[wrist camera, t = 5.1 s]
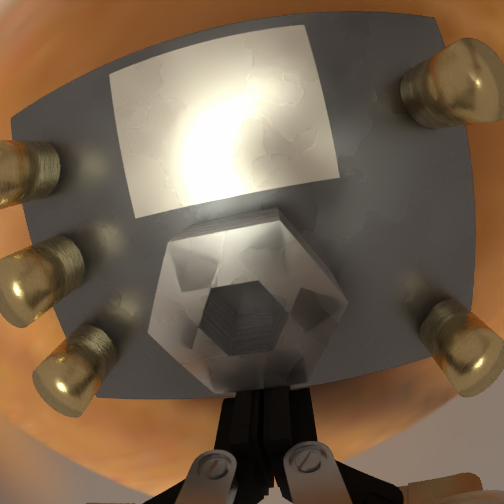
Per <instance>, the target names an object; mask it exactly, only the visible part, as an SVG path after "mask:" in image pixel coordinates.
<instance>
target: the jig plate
mask: <svg viewBox="0 0 504 504" xmlns="http://www.w3.org/2000/svg"><path fill="white" fill-rule="evenodd" d="M503 119H504V64H503V63H502V61H501V60H500V58H499V57H498V56H497V54H496V53H495V52H494V51H493V50H492V49H491V48H490V47H488V46H487V45H486V44H484V43H483V42H481V41H479V40H477V39H473V38H463V39H460V40H459V41H457V42H455V43H453V44H451V45H450V46H448V47H446V48H445V45H444V42H443V39H442V36H441V33H440V31H439V28H438V26H437V23H436V20H435V18H434V17H427V16H419V15H410V14H400V13H386V12H360V11H344V12H317V13H303V14H293V15H284V16H276V17H268V18H262V19H255V20H250V21H244V22H239V23H234V24H229V25H224V26H220V27H216V28H211V29H207V30H203V31H199V32H196V33H192V34H189V35H185V36H182V37H178V38H175V39H172V40H169V41H166V42H162V43H160V44H157V45H154V46H151V47H148V48H145V49H143V50H140V51H137V52H135V53H132V54H130V55H127V56H125V57H122V58H120V59H117V60H115V61H113V62H110V63H108V64H106V65H104V66H101V67H99V68H97V69H95V70H93V71H91V72H89V73H87V74H85V75H83V76H81V77H79V78H77V79H75V80H73V81H71V82H69V83H67V84H65V85H63V86H62V87H60V88H58V89H56V90H54V91H53V92H51V93H49V94H48V95H46V96H44V97H43V98H41V99H39V100H38V101H36V102H34V103H33V104H31V105H30V106H28V107H27V108H25V109H23V110H22V111H20V112H19V113H18V114H16V115H15V116H13V117H12V118H11V129H12V140H0V209H3V208H7V207H11V206H15V205H19V204H23V209H24V213H25V218H26V222H27V226H28V230H29V234H30V237H31V241H32V245H31V246H29V247H26V248H24V249H22V250H20V251H17V252H15V253H13V254H11V255H8V256H6V257H4V258H2V259H0V313H1V314H2V316H3V317H4V318H5V319H6V320H7V321H8V322H9V323H11V324H12V325H14V326H16V327H19V328H24V327H27V326H28V325H30V324H31V323H32V322H33V321H35V320H36V319H37V318H38V317H40V316H41V315H42V314H44V313H45V312H46V311H48V310H49V309H50V308H51V307H54V310H55V312H56V315H57V317H58V320H59V322H60V324H61V327H62V329H63V331H64V334H65V336H66V339H65V340H64V341H63V342H62V343H61V344H60V345H59V346H58V347H57V348H56V349H55V350H54V351H53V352H52V353H51V354H50V355H49V356H48V357H47V358H46V359H45V360H44V361H43V362H42V363H41V364H40V365H39V366H38V367H37V368H36V369H35V370H34V371H33V375H32V378H33V383H34V385H35V388H36V390H37V391H38V393H39V394H40V396H41V397H42V398H43V399H44V401H45V402H46V403H47V404H48V405H50V406H51V407H52V408H53V409H55V410H56V411H58V412H59V413H61V414H63V415H65V416H68V417H79V416H81V415H82V413H83V412H84V410H85V409H86V407H87V406H88V404H89V403H90V401H91V400H92V399H93V397H94V396H95V395H96V397H99V398H117V399H193V398H212V397H226V396H236V392H230V393H218V394H215V393H214V392H213V391H211V390H210V389H209V388H208V387H207V386H205V385H204V384H203V383H202V382H201V381H199V380H198V379H197V378H196V377H195V376H194V375H193V374H191V373H190V372H189V371H188V370H187V369H186V368H185V367H183V366H182V365H181V364H180V363H179V362H178V361H177V360H176V359H175V358H174V357H172V356H171V355H170V354H169V353H168V352H167V351H166V350H165V349H164V348H163V347H162V346H161V345H160V344H159V343H158V342H157V341H155V340H154V339H153V338H152V337H151V336H150V335H149V334H148V328H149V323H150V318H151V313H152V309H153V304H154V299H155V295H156V290H157V286H158V281H159V277H160V272H161V268H162V264H163V260H164V256H165V252H166V248H167V244H168V242H169V241H170V240H171V239H173V238H174V237H175V236H177V235H178V234H179V233H180V232H182V231H183V230H184V229H186V228H187V227H188V226H190V225H191V224H196V223H201V222H205V221H210V220H215V219H220V218H225V217H230V216H235V215H240V214H245V213H251V212H256V211H261V210H266V209H272V208H278V209H279V210H280V212H281V213H282V214H283V215H284V216H285V217H286V219H287V220H288V221H289V222H290V223H291V224H292V226H293V227H294V228H295V229H296V230H297V231H298V233H299V234H300V235H301V236H302V237H303V239H304V240H305V241H306V242H307V243H308V245H309V246H310V247H311V248H312V249H313V251H314V252H315V253H316V254H317V255H318V257H319V258H320V259H321V260H322V261H323V263H324V264H325V265H326V266H327V268H328V269H329V270H330V271H331V272H332V274H333V276H334V278H335V279H336V281H337V283H338V285H339V286H340V288H341V290H342V292H343V293H344V295H345V297H346V299H347V301H348V302H349V303H348V305H347V307H346V309H345V311H344V313H343V315H342V317H341V319H340V321H339V323H338V325H337V327H336V329H335V331H334V333H333V335H332V337H331V339H330V341H329V343H328V345H327V346H326V348H325V350H324V352H323V354H322V356H321V358H320V359H319V361H318V363H317V365H316V367H315V369H314V370H313V372H312V374H311V376H310V377H309V379H308V381H307V383H301V384H295V385H290V389H294V388H301V387H307V386H313V385H318V384H324V383H329V382H334V381H339V380H344V379H348V378H353V377H357V376H362V375H366V374H370V373H374V372H378V371H382V370H386V369H390V368H394V367H397V366H401V365H404V364H408V363H411V362H415V361H418V360H421V359H424V358H427V357H431V356H432V357H433V358H434V360H435V361H436V362H437V364H438V365H439V367H440V368H441V369H442V371H443V372H444V374H445V375H446V376H447V378H448V379H449V381H450V382H451V383H452V385H453V386H454V388H455V389H456V391H457V392H458V393H459V395H461V396H462V397H472V396H475V395H477V394H479V393H481V392H483V391H484V390H486V389H487V388H488V387H489V386H490V385H491V384H492V383H493V382H494V381H495V380H496V379H497V378H498V376H499V375H500V374H501V372H502V370H503V369H504V340H503V339H502V338H501V337H499V336H498V335H497V334H496V333H495V332H494V331H493V330H492V329H491V328H489V327H488V326H487V325H486V324H485V323H484V322H483V321H482V320H480V319H479V318H478V317H477V316H476V315H475V314H473V313H472V312H471V305H472V295H473V284H474V268H475V203H474V187H473V176H472V166H471V158H470V150H469V144H468V137H467V131H466V126H465V125H469V124H477V123H486V122H494V121H500V120H503ZM213 293H214V294H215V295H216V296H217V297H218V298H219V299H220V300H221V301H222V302H223V303H224V304H225V305H226V306H227V307H228V308H229V309H230V310H231V311H232V312H233V313H234V314H235V315H236V316H237V317H243V316H250V315H256V314H263V313H269V312H272V311H273V309H274V307H275V304H276V302H277V300H276V299H275V298H274V297H273V296H272V294H271V293H270V292H269V291H268V290H267V289H266V288H265V287H264V286H263V285H262V284H261V283H260V281H259V280H256V281H250V282H244V283H238V284H232V285H226V286H220V287H215V288H214V291H213Z"/></svg>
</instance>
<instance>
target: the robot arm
mask: <svg viewBox="0 0 504 504" xmlns="http://www.w3.org/2000/svg"><path fill="white" fill-rule="evenodd" d="M274 476H275V479H276V482H277V485H278V487H280V490H281V493H282V496H283V497H284V498H285V499H287V500H288V501H290V502H292V503H293V504H504V491H501V490H483V488H482V483H481V480H480V478H479V477H478V476H477V475H475V474H472V473H460V474H456V475H452V476H447V477H442V478H437V479H432V480H426V481H421V482H413V483H409V484H408V486H401V487H396V486H395V485H393V484H390V483H387V482H385V481H383V480H380V479H377V478H375V477H373V476H370V475H368V474H365V473H363V472H360V471H358V470H356V469H354V468H351V467H349V466H347V465H345V464H343V463H340V462H338V461H336V460H335V459H334V456H333V454H332V452H331V450H330V449H329V447H328V446H326V445H325V444H323V443H320V442H318V441H317V434H316V428H315V421H314V414H313V408H312V402H311V395H310V389H309V388H304V389H298V390H291V389H290V385H289V386H286V385H284V386H277V387H270V388H267V389H259V390H245V391H236V397H235V398H225V399H224V400H223V404H222V409H221V414H220V420H219V425H218V430H217V436H216V441H215V446H214V450H211V451H207V452H205V453H203V454H201V455H199V456H198V457H197V458H196V459H195V461H194V462H193V464H192V466H191V468H190V470H189V473H188V475H187V477H186V479H184V480H183V481H181V482H179V483H178V484H176V485H174V486H173V487H171V488H169V489H168V490H166V491H164V492H162V493H161V494H159V495H157V496H155V497H153V498H152V499H150V500H148V501H146V502H145V503H143V504H257V503H259V502H260V501H261V500H262V499H264V495H269V488H273V487H274ZM86 504H135V503H86Z"/></svg>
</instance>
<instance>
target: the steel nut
mask: <svg viewBox="0 0 504 504" xmlns="http://www.w3.org/2000/svg"><path fill="white" fill-rule="evenodd" d="M256 280H259V281H260V283H261V284H262V285H263V286H264V287H265V288H266V289H267V290H268V291H269V292H270V293H271V294H272V296H273V297H274V298H275V299H276V300H277V302H276V304H275V307H274V309H273V311H272V312H269V313H263V314H256V315H250V316H243V317H237V316H236V315H235V314H234V313H233V312H232V311H231V310H230V309H229V308H228V307H227V306H226V305H225V304H224V303H223V302H222V301H221V300H220V299H219V298H218V297H217V296H216V295H215V294H214V293H213V291H214V288H215V287H220V286H226V285H232V284H238V283H244V282H250V281H256ZM348 303H349V302H348V301H347V299H346V297H345V295H344V293H343V292H342V290H341V288H340V286H339V285H338V283H337V281H336V279H335V278H334V276H333V274H332V272H331V271H330V270H329V269H328V268H327V266H326V265H325V264H324V263H323V261H322V260H321V259H320V258H319V257H318V255H317V254H316V253H315V252H314V251H313V249H312V248H311V247H310V246H309V245H308V243H307V242H306V241H305V240H304V239H303V237H302V236H301V235H300V234H299V233H298V231H297V230H296V229H295V228H294V227H293V226H292V224H291V223H290V222H289V221H288V220H287V219H286V217H285V216H284V215H283V214H282V213H281V212H280V210H279V209H278V208H272V209H266V210H261V211H256V212H251V213H245V214H240V215H235V216H230V217H225V218H220V219H215V220H210V221H205V222H201V223H196V224H191V225H190V226H188V227H187V228H186V229H184V230H183V231H182V232H180V233H179V234H178V235H177V236H175V237H174V238H173V239H171V240H170V241H169V242H168V244H167V248H166V252H165V256H164V260H163V264H162V268H161V272H160V277H159V281H158V286H157V290H156V295H155V299H154V304H153V309H152V313H151V318H150V323H149V328H148V334H149V335H150V336H151V337H152V338H153V339H154V340H155V341H157V342H158V343H159V344H160V345H161V346H162V347H163V348H164V349H165V350H166V351H167V352H168V353H169V354H170V355H171V356H172V357H174V358H175V359H176V360H177V361H178V362H179V363H180V364H181V365H182V366H183V367H185V368H186V369H187V370H188V371H189V372H190V373H191V374H193V375H194V376H195V377H196V378H197V379H198V380H199V381H201V382H202V383H203V384H204V385H205V386H207V387H208V388H209V389H210V390H211V391H213V392H214V393H215V394H218V393H230V392H236V391H245V390H259V389H267V388H270V387H277V386H284V385H286V386H289V385H295V384H301V383H307V381H308V379H309V377H310V376H311V374H312V372H313V370H314V369H315V367H316V365H317V363H318V361H319V359H320V358H321V356H322V354H323V352H324V350H325V348H326V346H327V345H328V343H329V341H330V339H331V337H332V335H333V333H334V331H335V329H336V327H337V325H338V323H339V321H340V319H341V317H342V315H343V313H344V311H345V309H346V307H347V305H348Z"/></svg>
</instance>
